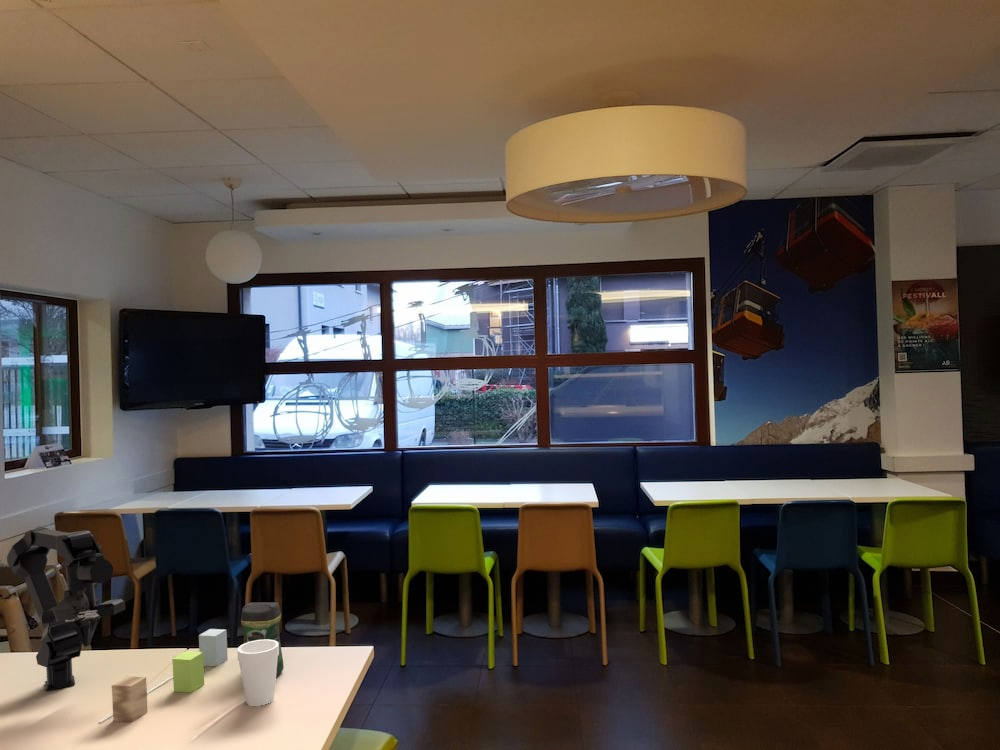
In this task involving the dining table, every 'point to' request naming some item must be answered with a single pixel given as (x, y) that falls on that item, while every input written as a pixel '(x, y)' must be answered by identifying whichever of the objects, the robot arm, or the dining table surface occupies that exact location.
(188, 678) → the green block
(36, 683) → the dining table surface
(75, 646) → the robot arm
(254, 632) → the coffee jar
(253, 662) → the foam cup
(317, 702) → the dining table surface
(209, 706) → the dining table surface
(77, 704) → the dining table surface
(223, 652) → the blue-grey block
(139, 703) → the brown wooden block
